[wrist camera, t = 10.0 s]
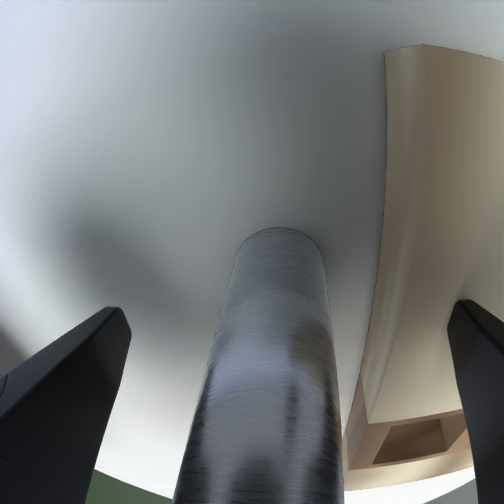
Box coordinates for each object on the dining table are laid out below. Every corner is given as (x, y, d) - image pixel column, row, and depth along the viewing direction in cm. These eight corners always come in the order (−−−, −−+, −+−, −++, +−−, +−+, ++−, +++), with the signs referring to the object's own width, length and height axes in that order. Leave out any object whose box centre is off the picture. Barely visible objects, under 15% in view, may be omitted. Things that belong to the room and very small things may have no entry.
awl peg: (323, 226, 9) (358, 568, 2) (321, 300, 10) (332, 573, 3) (230, 229, 9) (128, 546, 2) (241, 302, 10) (187, 564, 4)
